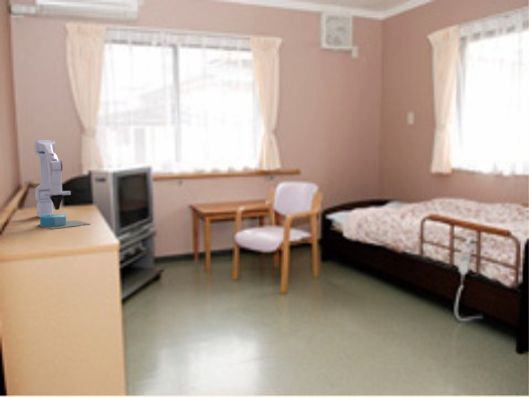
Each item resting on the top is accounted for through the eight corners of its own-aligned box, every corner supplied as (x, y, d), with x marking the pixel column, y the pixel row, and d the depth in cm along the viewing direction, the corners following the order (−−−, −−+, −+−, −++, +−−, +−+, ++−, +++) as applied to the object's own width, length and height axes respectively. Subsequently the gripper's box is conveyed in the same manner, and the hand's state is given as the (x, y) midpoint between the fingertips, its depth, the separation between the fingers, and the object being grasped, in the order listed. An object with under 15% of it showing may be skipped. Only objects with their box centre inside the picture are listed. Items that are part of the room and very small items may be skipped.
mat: (37, 225, 238) (37, 224, 238) (75, 220, 253) (75, 220, 253) (52, 229, 228) (52, 228, 228) (90, 224, 243) (90, 223, 243)
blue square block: (66, 213, 248) (65, 216, 237) (66, 221, 248) (66, 225, 237) (41, 214, 243) (39, 217, 232) (41, 222, 244) (40, 226, 233)
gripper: (45, 185, 235) (46, 211, 237) (72, 183, 246) (74, 208, 248) (39, 184, 240) (40, 210, 241) (66, 182, 251) (67, 207, 252)
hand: (57, 209), depth 245 cm, fingers closed
